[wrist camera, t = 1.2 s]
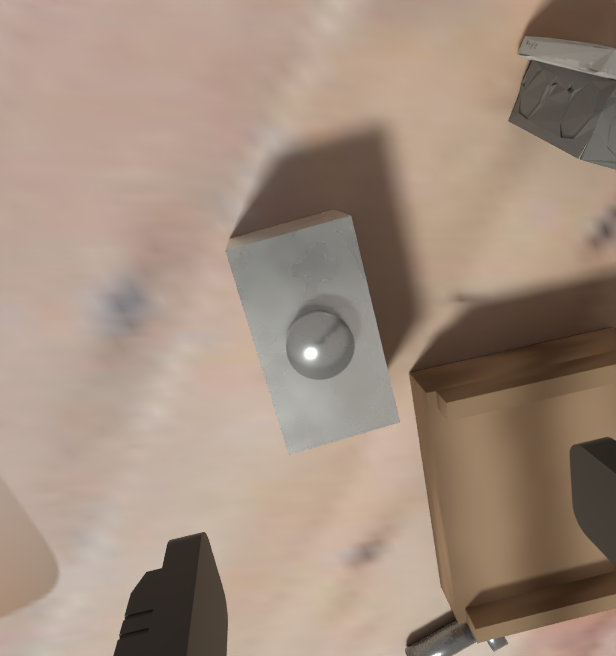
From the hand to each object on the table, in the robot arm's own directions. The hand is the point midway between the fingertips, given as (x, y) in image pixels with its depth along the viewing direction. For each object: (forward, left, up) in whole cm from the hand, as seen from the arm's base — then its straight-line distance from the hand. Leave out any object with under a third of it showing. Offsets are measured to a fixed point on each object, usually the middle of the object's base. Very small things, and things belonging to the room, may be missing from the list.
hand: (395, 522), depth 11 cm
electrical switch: (-16, -7, -18) cm, 25 cm away
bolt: (-5, +23, -18) cm, 29 cm away
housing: (0, 0, -18) cm, 18 cm away
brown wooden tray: (-11, +12, -18) cm, 24 cm away
